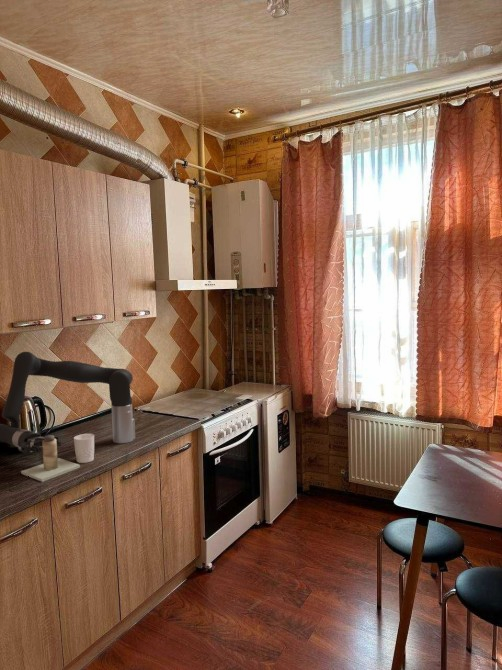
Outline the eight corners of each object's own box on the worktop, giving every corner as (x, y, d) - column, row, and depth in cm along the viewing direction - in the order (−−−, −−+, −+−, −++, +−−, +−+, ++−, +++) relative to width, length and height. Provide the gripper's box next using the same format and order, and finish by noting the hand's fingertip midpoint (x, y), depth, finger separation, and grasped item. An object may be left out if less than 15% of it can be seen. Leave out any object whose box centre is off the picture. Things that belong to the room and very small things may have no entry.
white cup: (71, 460, 186) (70, 436, 185) (90, 455, 192) (89, 432, 191) (80, 465, 180) (78, 441, 179) (98, 460, 186) (97, 436, 185)
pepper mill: (53, 464, 179) (51, 433, 178) (60, 467, 176) (58, 435, 175) (41, 468, 175) (39, 437, 174) (48, 471, 172) (46, 439, 171)
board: (59, 460, 186) (59, 458, 186) (80, 467, 178) (80, 464, 178) (21, 473, 173) (21, 471, 173) (42, 481, 165) (42, 479, 165)
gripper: (8, 435, 177) (31, 442, 168) (42, 426, 189) (65, 432, 180) (9, 454, 178) (32, 462, 169) (43, 443, 190) (66, 450, 181)
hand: (49, 446), depth 175 cm, fingers open, 8 cm apart
